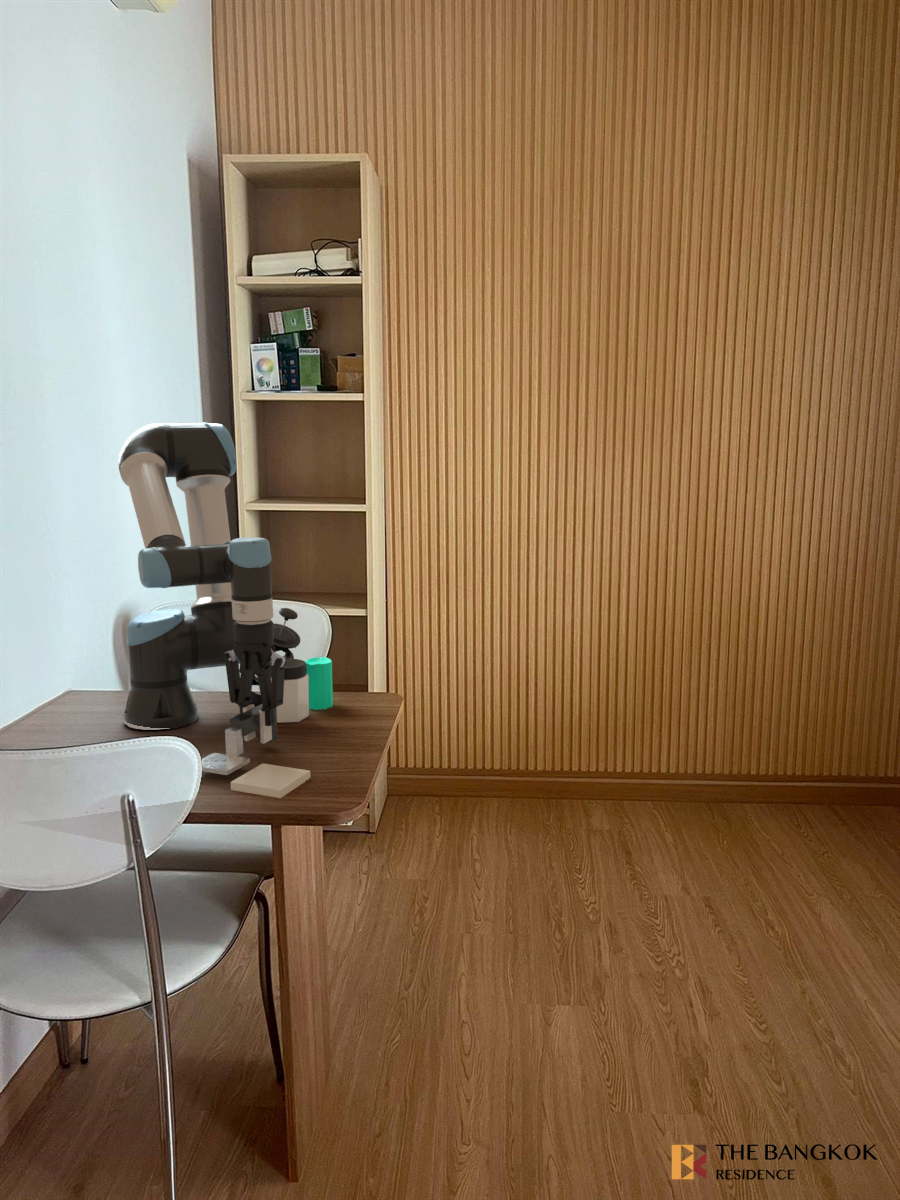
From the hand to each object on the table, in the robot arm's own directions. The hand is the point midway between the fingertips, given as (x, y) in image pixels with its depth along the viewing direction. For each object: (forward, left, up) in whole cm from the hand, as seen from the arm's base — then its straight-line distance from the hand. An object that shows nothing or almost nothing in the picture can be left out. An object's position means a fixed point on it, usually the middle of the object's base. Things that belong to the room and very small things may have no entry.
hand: (258, 739), depth 185 cm
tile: (+11, -8, -2) cm, 14 cm away
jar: (-7, +22, -3) cm, 23 cm away
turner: (0, -6, -1) cm, 6 cm away
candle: (-5, +32, -3) cm, 32 cm away
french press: (-19, +27, 0) cm, 33 cm away
